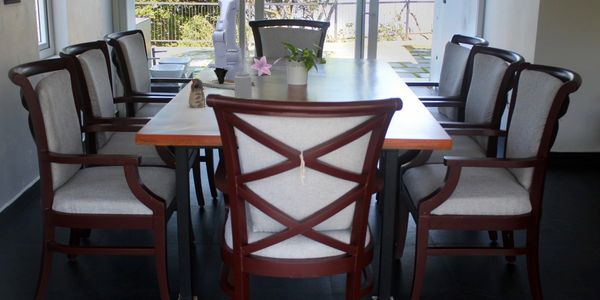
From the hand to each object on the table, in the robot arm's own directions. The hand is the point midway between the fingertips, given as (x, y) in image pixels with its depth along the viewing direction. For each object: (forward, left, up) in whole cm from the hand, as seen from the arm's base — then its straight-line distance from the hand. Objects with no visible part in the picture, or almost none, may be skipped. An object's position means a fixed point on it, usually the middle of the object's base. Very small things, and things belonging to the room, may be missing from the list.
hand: (221, 83), depth 344 cm
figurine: (+43, +24, -2) cm, 49 cm away
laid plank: (-9, 0, -2) cm, 9 cm away
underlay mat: (-5, 0, -2) cm, 5 cm away
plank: (-1, 0, -1) cm, 2 cm away
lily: (-44, -9, -2) cm, 45 cm away
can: (+21, +31, -2) cm, 37 cm away
